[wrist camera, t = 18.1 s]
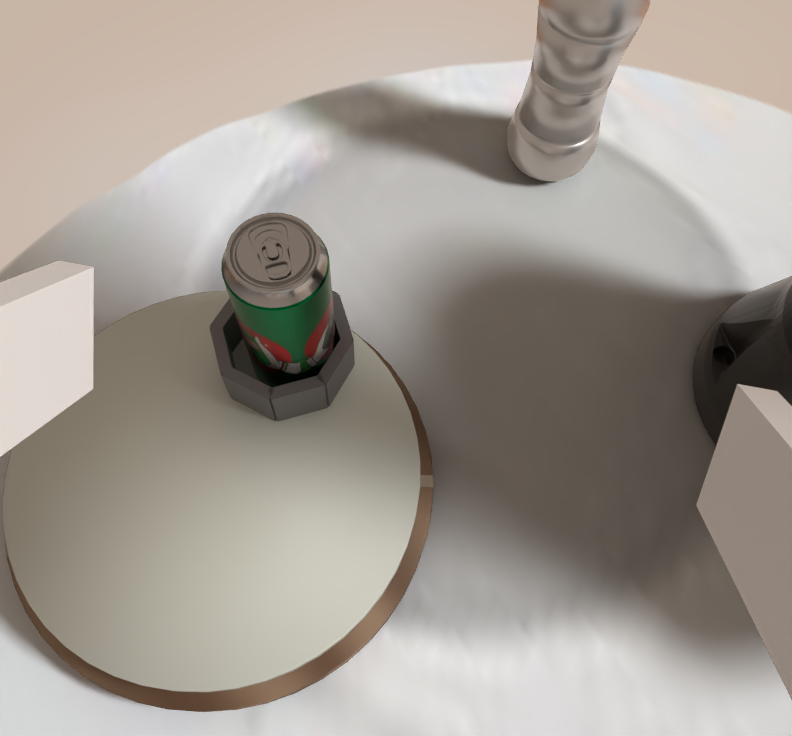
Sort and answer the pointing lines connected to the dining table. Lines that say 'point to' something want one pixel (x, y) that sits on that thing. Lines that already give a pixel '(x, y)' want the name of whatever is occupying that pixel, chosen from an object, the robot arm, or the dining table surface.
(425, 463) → the base
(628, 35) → the plastic bottle
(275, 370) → the soda can
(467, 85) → the dining table surface
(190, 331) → the dial
